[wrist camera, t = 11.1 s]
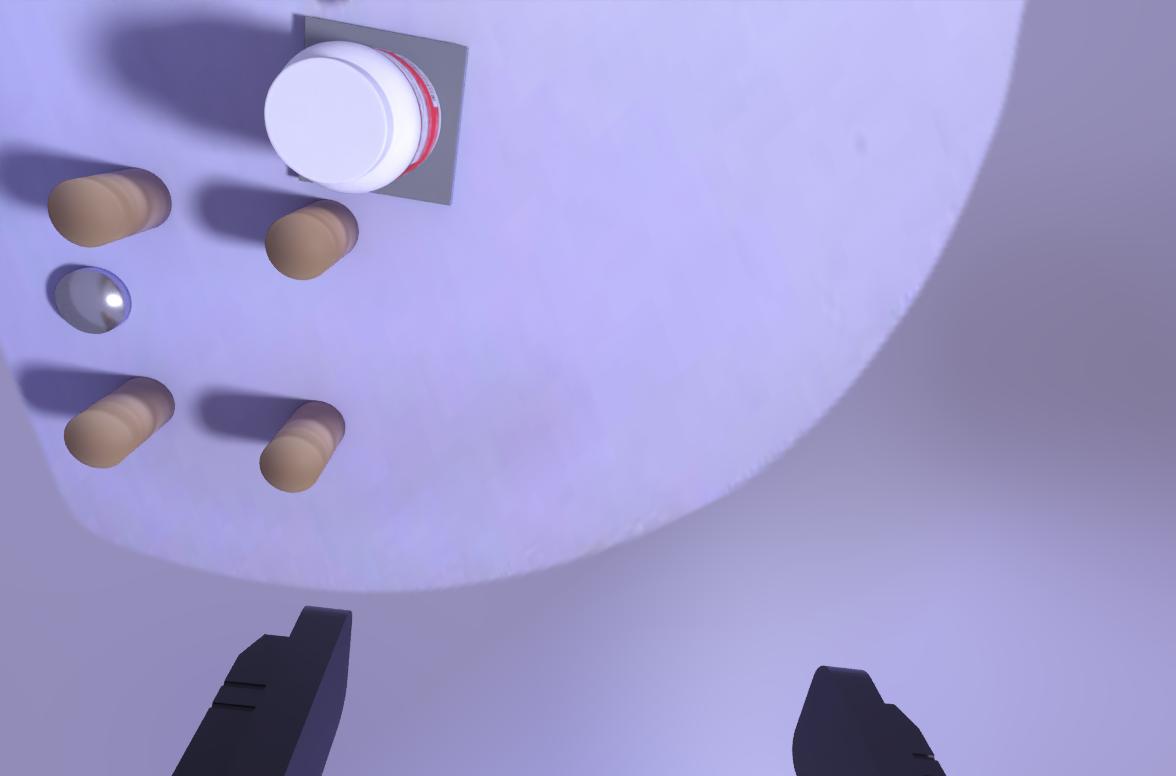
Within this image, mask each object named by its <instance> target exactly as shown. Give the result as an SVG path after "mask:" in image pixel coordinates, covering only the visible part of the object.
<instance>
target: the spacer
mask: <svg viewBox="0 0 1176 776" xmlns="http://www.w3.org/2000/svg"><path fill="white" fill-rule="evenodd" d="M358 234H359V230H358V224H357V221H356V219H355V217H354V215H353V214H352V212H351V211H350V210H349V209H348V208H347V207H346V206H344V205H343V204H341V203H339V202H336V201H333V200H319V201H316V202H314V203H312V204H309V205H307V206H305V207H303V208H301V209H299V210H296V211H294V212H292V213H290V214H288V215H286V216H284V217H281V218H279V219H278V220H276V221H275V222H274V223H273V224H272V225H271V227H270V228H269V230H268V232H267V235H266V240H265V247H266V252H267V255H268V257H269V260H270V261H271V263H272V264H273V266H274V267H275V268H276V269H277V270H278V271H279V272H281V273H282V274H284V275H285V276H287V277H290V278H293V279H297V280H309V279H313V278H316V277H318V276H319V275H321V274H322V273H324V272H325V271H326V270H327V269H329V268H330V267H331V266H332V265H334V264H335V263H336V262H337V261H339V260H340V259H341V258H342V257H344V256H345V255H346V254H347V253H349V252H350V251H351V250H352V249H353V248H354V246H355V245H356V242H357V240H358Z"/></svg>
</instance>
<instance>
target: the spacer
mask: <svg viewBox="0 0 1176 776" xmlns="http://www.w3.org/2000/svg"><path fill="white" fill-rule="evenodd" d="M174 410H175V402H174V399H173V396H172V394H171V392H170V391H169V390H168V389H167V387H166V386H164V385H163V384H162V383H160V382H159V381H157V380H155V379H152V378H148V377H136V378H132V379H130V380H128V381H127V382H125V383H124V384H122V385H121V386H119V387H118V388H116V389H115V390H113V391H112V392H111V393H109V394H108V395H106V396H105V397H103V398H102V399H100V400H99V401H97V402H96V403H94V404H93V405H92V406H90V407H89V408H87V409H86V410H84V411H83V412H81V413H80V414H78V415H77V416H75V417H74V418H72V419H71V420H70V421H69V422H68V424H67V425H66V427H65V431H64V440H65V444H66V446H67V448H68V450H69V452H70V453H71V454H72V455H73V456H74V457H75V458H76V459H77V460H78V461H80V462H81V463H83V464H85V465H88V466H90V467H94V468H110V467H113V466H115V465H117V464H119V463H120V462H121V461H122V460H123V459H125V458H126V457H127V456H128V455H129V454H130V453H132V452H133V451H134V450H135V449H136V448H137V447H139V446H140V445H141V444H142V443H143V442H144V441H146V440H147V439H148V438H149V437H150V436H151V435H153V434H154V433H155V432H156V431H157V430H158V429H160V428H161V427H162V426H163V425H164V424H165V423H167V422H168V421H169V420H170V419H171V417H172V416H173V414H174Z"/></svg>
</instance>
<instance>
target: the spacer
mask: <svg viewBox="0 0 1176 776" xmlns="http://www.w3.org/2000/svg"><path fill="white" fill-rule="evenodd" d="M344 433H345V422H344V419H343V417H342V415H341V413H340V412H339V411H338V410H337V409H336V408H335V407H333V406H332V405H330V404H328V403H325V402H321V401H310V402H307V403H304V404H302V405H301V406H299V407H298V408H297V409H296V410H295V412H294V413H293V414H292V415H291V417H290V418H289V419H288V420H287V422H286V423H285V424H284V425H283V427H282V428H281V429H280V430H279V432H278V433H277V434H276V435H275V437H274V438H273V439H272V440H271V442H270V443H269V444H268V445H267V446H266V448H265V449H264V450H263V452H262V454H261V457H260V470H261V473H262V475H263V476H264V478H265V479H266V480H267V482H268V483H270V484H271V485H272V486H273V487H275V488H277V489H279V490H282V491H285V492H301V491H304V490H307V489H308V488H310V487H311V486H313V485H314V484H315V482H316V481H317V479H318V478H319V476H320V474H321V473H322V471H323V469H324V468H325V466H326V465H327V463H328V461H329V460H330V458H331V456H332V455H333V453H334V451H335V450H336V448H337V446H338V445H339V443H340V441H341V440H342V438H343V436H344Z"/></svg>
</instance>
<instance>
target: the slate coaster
mask: <svg viewBox="0 0 1176 776" xmlns="http://www.w3.org/2000/svg"><path fill="white" fill-rule="evenodd" d="M328 41H348V42H353V43H358V44H362V45H365V46H369V47H373V48H378V49H383V50H387V51H391V52H394V53H397V54H399V55H401V56H403V57H405V58H407V59H408V60H410V61H411V62H412V63H414V64H415V65H416V66H417V67H418V68H419V69H421V71H422V72H423V73H424V74H425V75H426V76H427V78H428V79H429V81H430V82H431V84H432V86H433V87H434V90H435V92H436V94H437V97H438V100H439V104H440V110H441V127H440V133H439V137H438V140H437V142H436V144H435V146H434V148H433V150H432V152H431V153H430V154H429V156H428V157H427V158H426V159H425V160H424V161H423V162H422V163H421V164H420V165H419V166H417V167H416V168H414V169H413V170H411V171H410V172H408V173H406V174H405V175H403V176H401V177H400V178H398V179H396V180H394V181H393V182H391V183H389V184H388V185H386V186H385V187H382V188H379V189H377V190H373V191H370V192H372V193H378V194H384V195H390V196H396V197H402V198H408V199H414V200H420V201H426V202H432V203H438V204H444V205H451V204H452V196H453V187H454V178H455V169H456V160H457V150H458V141H459V132H460V123H461V114H462V104H463V95H464V86H465V77H466V68H467V58H468V49H469V47H467V46H462V45H456V44H451V43H446V42H441V41H435V40H430V39H425V38H419V37H414V36H409V35H403V34H398V33H393V32H387V31H382V30H377V29H372V28H366V27H361V26H356V25H350V24H345V23H340V22H334V21H329V20H324V19H319V18H313V17H308V16H305V37H304V49H306V48H308V47H310V46H313V45H315V44H319V43H322V42H328ZM299 180H300V181H306V182H312V181H310V180H309V179H307V178H305V177H303V176H301V175H300V174H299ZM312 183H314V182H312Z"/></svg>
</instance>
